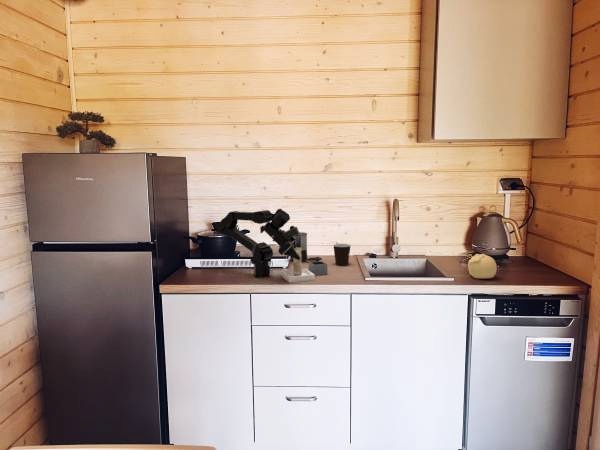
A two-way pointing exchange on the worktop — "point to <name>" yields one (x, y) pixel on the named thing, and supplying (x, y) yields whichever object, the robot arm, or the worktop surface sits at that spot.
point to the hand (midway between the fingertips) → (300, 257)
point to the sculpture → (482, 266)
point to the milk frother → (303, 247)
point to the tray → (290, 277)
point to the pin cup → (318, 268)
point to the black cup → (341, 254)
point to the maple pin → (297, 263)
